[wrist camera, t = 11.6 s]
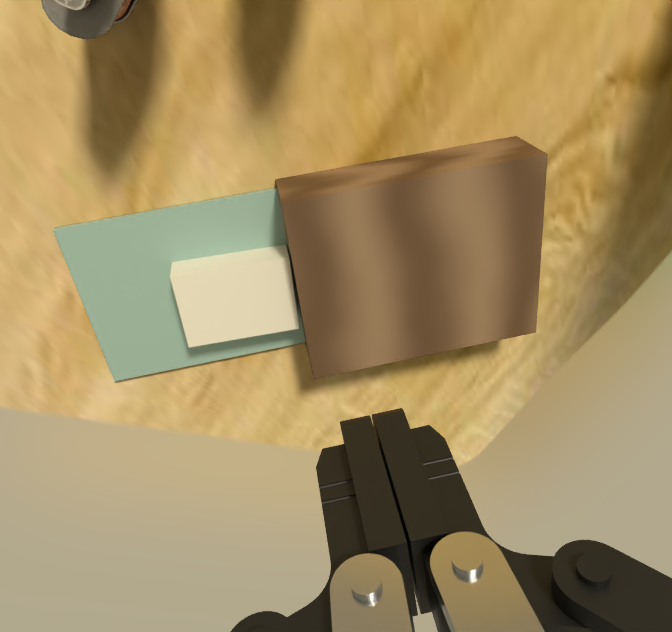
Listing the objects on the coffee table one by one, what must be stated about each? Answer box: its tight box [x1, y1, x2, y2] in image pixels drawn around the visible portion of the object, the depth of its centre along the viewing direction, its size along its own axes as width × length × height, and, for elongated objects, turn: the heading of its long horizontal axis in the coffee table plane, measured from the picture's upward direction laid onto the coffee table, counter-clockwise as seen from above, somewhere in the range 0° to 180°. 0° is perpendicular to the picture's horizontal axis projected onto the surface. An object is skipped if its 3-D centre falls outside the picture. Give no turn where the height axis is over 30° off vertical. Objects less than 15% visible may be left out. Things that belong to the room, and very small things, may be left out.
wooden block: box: [276, 136, 547, 379], centre depth 37 cm, size 15×12×4 cm
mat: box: [53, 188, 305, 381], centre depth 38 cm, size 13×11×1 cm
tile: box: [170, 244, 299, 347], centre depth 37 cm, size 7×5×2 cm
